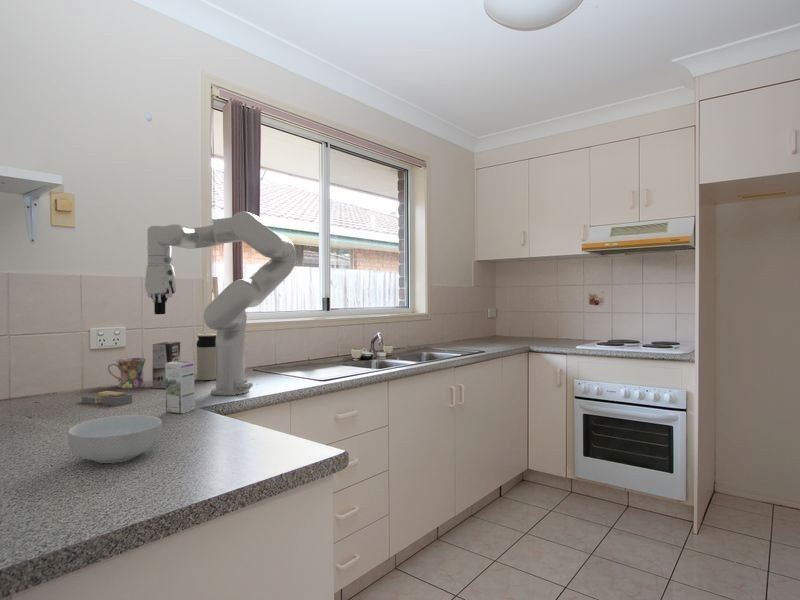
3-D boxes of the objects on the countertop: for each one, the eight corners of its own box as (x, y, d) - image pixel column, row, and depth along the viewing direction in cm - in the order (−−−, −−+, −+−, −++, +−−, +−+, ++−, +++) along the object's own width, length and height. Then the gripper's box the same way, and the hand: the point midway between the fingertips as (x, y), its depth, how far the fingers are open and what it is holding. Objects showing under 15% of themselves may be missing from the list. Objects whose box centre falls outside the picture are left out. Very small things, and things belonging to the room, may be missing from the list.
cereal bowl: (59, 477, 92) (58, 439, 91) (77, 451, 107) (77, 418, 107) (160, 464, 98) (159, 429, 98) (163, 441, 114) (163, 411, 113)
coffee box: (169, 388, 177) (169, 343, 177) (151, 388, 177) (151, 343, 177) (181, 383, 186) (181, 341, 186) (164, 383, 186) (164, 341, 186)
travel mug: (198, 381, 191) (198, 335, 190) (195, 378, 197) (195, 334, 197) (219, 379, 195) (219, 334, 194) (216, 376, 201) (216, 333, 201)
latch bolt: (125, 402, 148) (125, 392, 148) (116, 404, 145) (116, 394, 145) (107, 400, 151) (107, 390, 151) (98, 402, 148) (98, 392, 148)
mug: (147, 385, 182) (147, 357, 182) (144, 390, 173) (144, 360, 173) (111, 388, 178) (110, 358, 178) (105, 392, 169) (105, 362, 169)
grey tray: (158, 400, 157) (158, 388, 157) (85, 417, 135) (85, 404, 135) (126, 396, 163) (126, 385, 163) (50, 412, 141) (50, 399, 141)
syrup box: (195, 409, 144) (195, 360, 144) (180, 414, 139) (180, 363, 139) (180, 408, 146) (179, 359, 146) (164, 412, 141) (164, 362, 141)
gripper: (184, 261, 172) (184, 314, 172) (153, 262, 178) (153, 313, 178) (166, 260, 165) (166, 315, 165) (134, 261, 171) (135, 314, 171)
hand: (159, 314), depth 171 cm, fingers closed
